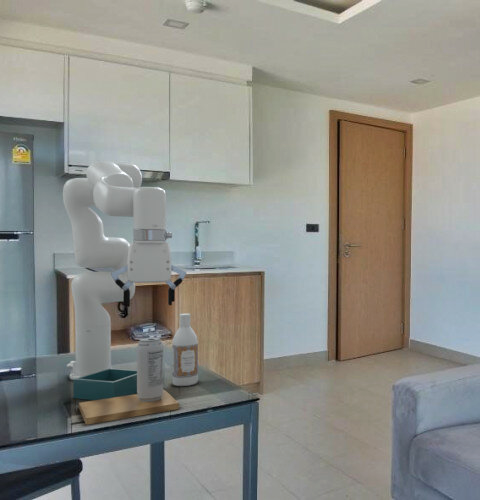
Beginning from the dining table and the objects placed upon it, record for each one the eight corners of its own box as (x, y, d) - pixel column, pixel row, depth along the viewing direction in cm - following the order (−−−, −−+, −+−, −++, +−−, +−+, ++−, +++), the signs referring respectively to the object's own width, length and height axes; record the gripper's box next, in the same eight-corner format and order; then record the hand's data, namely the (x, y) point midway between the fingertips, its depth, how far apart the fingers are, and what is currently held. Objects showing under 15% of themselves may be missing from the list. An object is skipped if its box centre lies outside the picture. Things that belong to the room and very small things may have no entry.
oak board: (86, 424, 118) (85, 418, 118) (78, 408, 129) (78, 402, 129) (178, 408, 129) (179, 402, 129) (164, 395, 141) (164, 389, 141)
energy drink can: (152, 394, 137) (152, 336, 136) (168, 397, 133) (168, 338, 133) (131, 400, 131) (131, 339, 131) (147, 403, 128) (147, 341, 128)
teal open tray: (73, 398, 138) (73, 379, 138) (109, 385, 150) (109, 368, 150) (113, 402, 135) (113, 382, 135) (147, 388, 147) (147, 370, 147)
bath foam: (175, 388, 148) (175, 316, 148) (169, 382, 154) (169, 313, 153) (200, 384, 152) (200, 314, 151) (194, 379, 158) (194, 312, 157)
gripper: (185, 237, 139) (184, 302, 140) (111, 236, 132) (111, 305, 133) (187, 237, 132) (187, 306, 133) (110, 236, 125) (110, 309, 126)
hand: (149, 305), depth 133 cm, fingers open, 9 cm apart
